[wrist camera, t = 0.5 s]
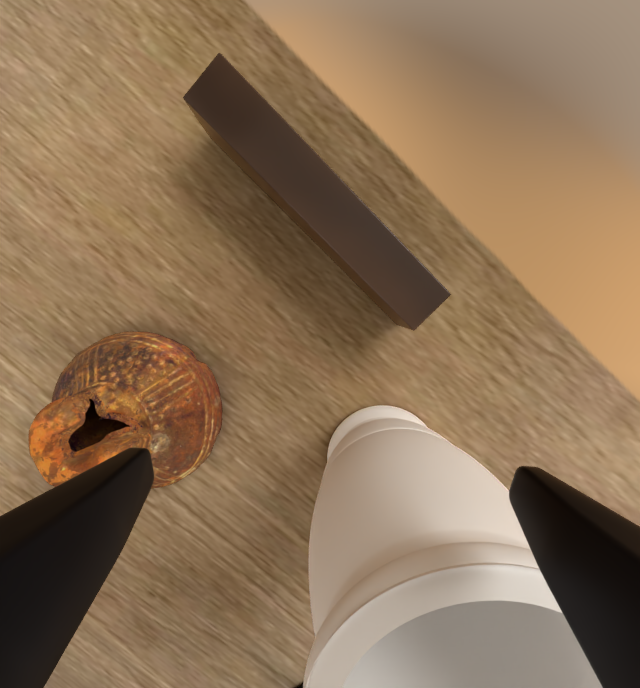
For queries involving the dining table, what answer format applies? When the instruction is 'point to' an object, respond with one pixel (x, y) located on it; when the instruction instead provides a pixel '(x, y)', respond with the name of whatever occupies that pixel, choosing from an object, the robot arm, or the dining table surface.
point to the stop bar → (312, 194)
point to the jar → (426, 571)
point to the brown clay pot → (129, 409)
